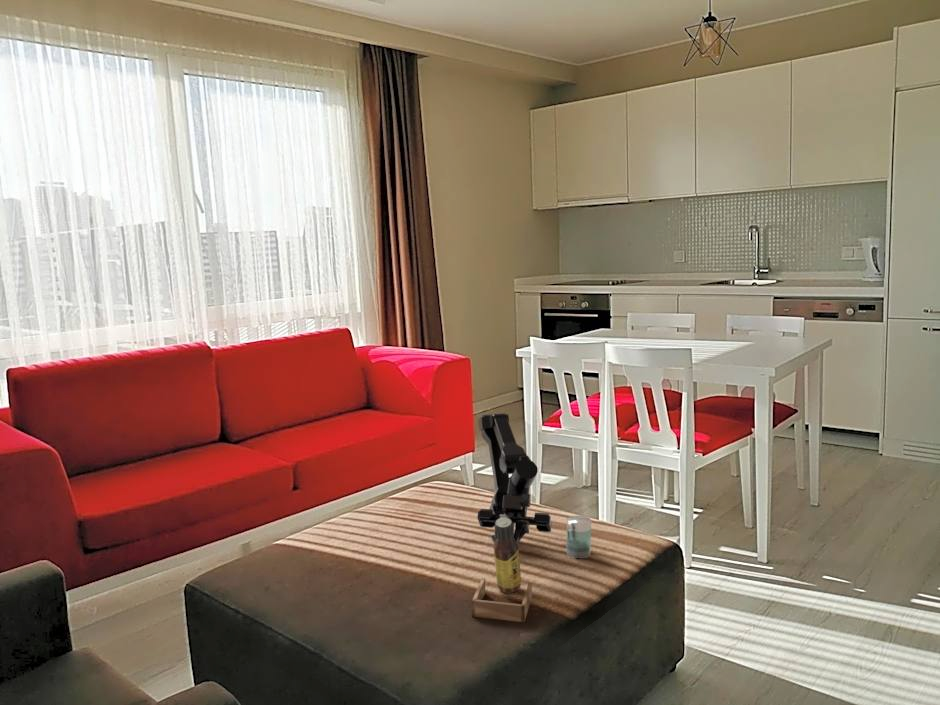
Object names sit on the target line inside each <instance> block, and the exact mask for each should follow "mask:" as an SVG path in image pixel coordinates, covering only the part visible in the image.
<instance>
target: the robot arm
mask: <svg viewBox="0 0 940 705" xmlns="http://www.w3.org/2000/svg"><path fill="white" fill-rule="evenodd" d="M477 426H478V430H479V431H480V433H481V437H482V439H483V440H484V441H485V442H486V443H487V444H488V450H489V458H490V464H491V470H492V471H491V472H492V476H493V483H494V489H495V490H494V491H495V492H494V495H493V497H492V499H491V503H490V506H489V509H488V508H480V509H479V510H478V513H477V517H476V518H477V521H478V524H479V526H480V527H481V528H490V529H491V528H493V529H494V534H492V535H491V536H490V537H491V539H492V542H493V543H494V542H495V540H496V539H497V529H496V521H497V520H498V519H500V518H509V519H510V520H511V521H512V534H513V537H514V539H515V541H516V543H517V545H519V543H520V541H521V540H522V538H523V537H524V536H525V535H526V534H530V526H535V528H536V530H537V531H538V532H544V533H550V532H551V531H552V517H551V515H550V514H549V513H545V512H534V516H532V517H531V516H527V513H528V512H527V511H528V508H531V494H530V489H531V488H530V487H531V486H532V485H533V482H534V481H535V478H536V477H537V474H538V471H539V470H538V466H537V465H536V463H535V462H534V461H532V460H531V458H530V457H529V455H527V452H526V451H525V449H524V448H523V447H522V446H520V445H518V443H517V441H516V438H515V435H514V433H513V430H512V428H511V424H510V419H509V414H508V413H505V412H504V413H503V412H502V413H491V414H490V413H489V414H488V413H486V414H481V417H480V418H478V421H477ZM510 475H511V476H510Z"/></svg>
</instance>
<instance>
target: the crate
mask: <svg viewBox="0 0 940 705" xmlns="http://www.w3.org/2000/svg"><path fill="white" fill-rule="evenodd" d="M532 588H533V584H532V582H528V584H527V587H526V590H525V593H524V597H523V599H522V602H521V604H520V603H513V602H502V601H493V600H483V599H484V596H485V594H486V577H481V580H480V582H479V584H478V586H477V588H476V590H475V593H474V595H473V597H472V599H471V617H474V618H485V619H494V620H500V621H501V620H502V621H509V622H520V623H525V622H526V617H527V615H528V612H529V608H530V606H531V601H532V598H533V596H532V595H533V594H532V593H533V589H532Z"/></svg>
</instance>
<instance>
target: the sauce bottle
mask: <svg viewBox="0 0 940 705" xmlns="http://www.w3.org/2000/svg"><path fill="white" fill-rule="evenodd" d="M496 529H497V539H496V540H495V542H494V541H493V551H494V552H493V556H494V557H493V558H494V566H495V567H494V569H495V578H496V583H497V587H498V589H499V590H500V591H501V592H502V593H506V594H512V593H514V592H517V591H518V590H519V589H520V587H521V586H522V575H521V574H522V573H521V562H520V551H519V547H520V546H519V544H517V543H516V541H515V539H514V537H513V534H512V521H511V520H510V519H509V518H500V519H498V520H497V521H496Z"/></svg>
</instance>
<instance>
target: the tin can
mask: <svg viewBox="0 0 940 705" xmlns="http://www.w3.org/2000/svg"><path fill="white" fill-rule="evenodd" d="M591 544H592V519H590V518H589V517H588V516H584V515H572V516H569V517H568V518H567V521H566V555H569V556H571V557H574V558H586V559H588V558H590V557H591V549H592V545H591ZM569 556H568V557H569ZM589 556H590V557H589ZM571 557H570V558H571ZM587 557H588V558H587ZM574 558H573V559H574Z"/></svg>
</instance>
